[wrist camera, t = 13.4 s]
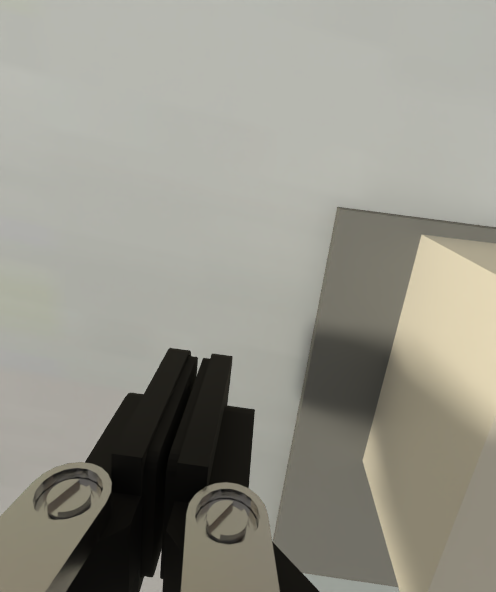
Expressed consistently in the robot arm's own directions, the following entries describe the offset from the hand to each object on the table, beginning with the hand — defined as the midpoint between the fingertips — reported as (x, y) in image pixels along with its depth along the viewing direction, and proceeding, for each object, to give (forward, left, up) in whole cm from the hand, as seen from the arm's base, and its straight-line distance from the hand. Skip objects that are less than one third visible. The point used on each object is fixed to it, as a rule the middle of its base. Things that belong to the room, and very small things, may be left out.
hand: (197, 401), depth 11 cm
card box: (0, -7, -4) cm, 8 cm away
